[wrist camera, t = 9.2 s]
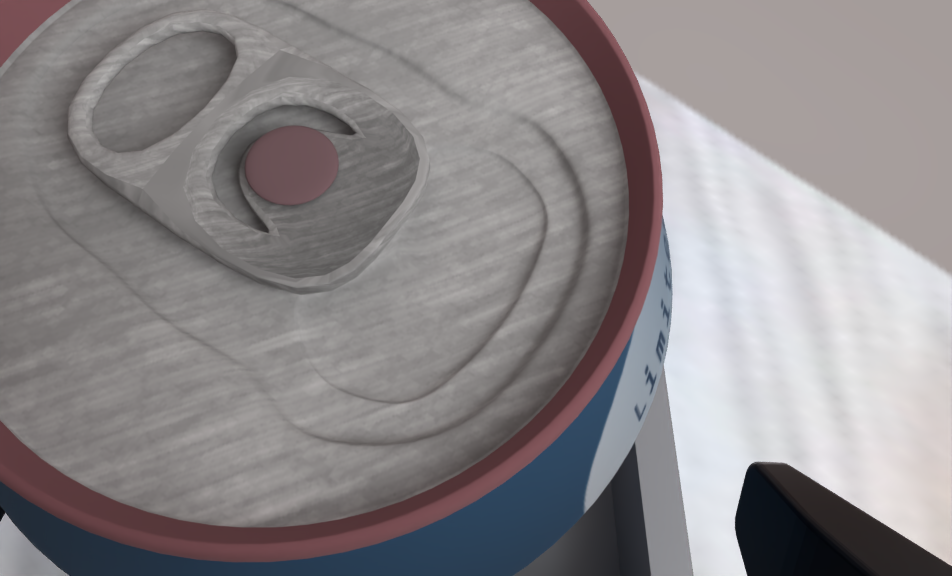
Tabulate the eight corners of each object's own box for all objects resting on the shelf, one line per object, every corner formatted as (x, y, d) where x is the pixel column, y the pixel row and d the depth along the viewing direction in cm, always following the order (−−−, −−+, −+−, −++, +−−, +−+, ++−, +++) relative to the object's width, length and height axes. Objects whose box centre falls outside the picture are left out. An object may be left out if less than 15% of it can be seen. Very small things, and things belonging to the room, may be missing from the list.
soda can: (593, 400, 17) (883, 65, 6) (426, 676, 15) (394, 976, 4) (358, 249, 18) (234, -263, 7) (168, 483, 16) (-458, 259, 5)
